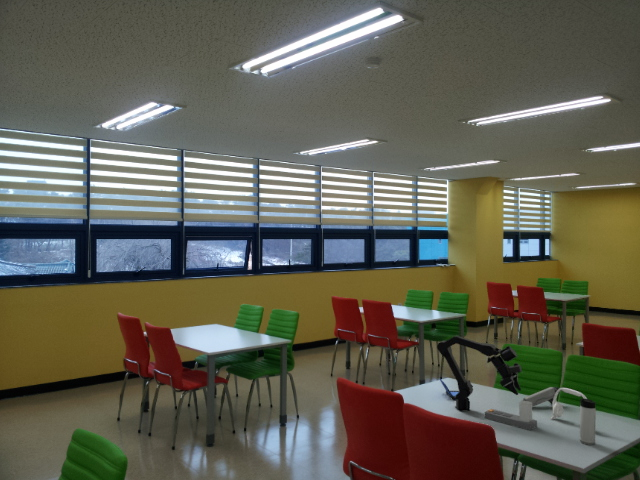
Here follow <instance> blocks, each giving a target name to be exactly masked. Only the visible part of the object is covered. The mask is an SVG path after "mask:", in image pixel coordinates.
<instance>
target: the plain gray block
mask: <svg viewBox="0 0 640 480" xmlns="http://www.w3.org/2000/svg"><path fill="white" fill-rule="evenodd" d="M518 403H519V413H518V416H519V420H521V421H525V422H530V421H532V419H533V407H532V402H529V401H524V400H523V399H522V400H521V401H519V402H518Z"/></svg>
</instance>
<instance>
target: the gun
mask: <svg viewBox="0 0 640 480" xmlns="http://www.w3.org/2000/svg"><path fill="white" fill-rule="evenodd" d="M558 389H560V387H557V386H554V387H553V386H550V387H547V388H545V389H543V390H539V391H538V392H534V393H533V394H530V395H527V396H525V397H523V399H522V401H523V400H524V401H529V402H532V408H533V407H536V406H538V405H541V404H543V403H545V402H549V404H550V405H552V402H553V399H554V396H555V393H556V391H557V390H558ZM559 395H560V392H559V393H558V395H557V397H558V396H559Z"/></svg>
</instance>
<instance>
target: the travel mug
mask: <svg viewBox="0 0 640 480" xmlns="http://www.w3.org/2000/svg"><path fill="white" fill-rule="evenodd" d="M579 401H580V405H579V406H580V408H579V442H581V444H583V445H586V446H594V445H596V408H597V407H596V401H593V400H592V399H589V398H587V399H584V398H583V397H582V398H580V399H579Z"/></svg>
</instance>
